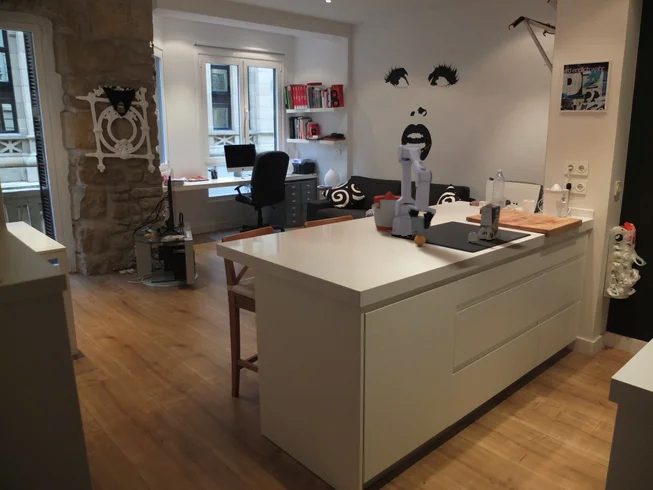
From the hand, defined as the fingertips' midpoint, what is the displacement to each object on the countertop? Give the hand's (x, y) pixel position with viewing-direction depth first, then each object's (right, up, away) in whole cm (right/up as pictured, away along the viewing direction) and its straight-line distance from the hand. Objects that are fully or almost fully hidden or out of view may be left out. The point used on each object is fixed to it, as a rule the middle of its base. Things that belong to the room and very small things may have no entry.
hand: (420, 227), depth 231 cm
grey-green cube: (0, -1, 0) cm, 1 cm away
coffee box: (+37, -5, +19) cm, 41 cm away
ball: (0, -6, +1) cm, 6 cm away
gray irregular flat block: (+27, -7, +8) cm, 29 cm away
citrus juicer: (-11, 0, +38) cm, 39 cm away
